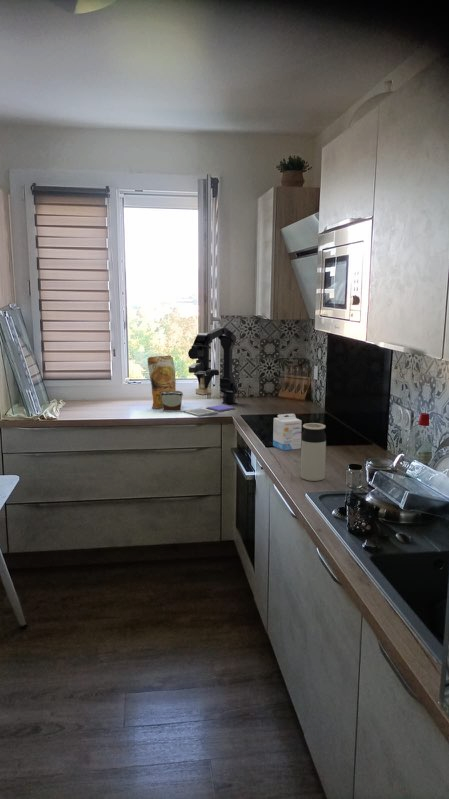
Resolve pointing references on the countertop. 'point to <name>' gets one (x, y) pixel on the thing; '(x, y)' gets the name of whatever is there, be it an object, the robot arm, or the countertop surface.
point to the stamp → (203, 389)
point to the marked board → (200, 412)
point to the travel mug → (313, 452)
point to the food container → (171, 400)
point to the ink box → (287, 432)
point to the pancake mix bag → (161, 377)
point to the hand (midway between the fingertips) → (203, 387)
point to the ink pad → (220, 408)
